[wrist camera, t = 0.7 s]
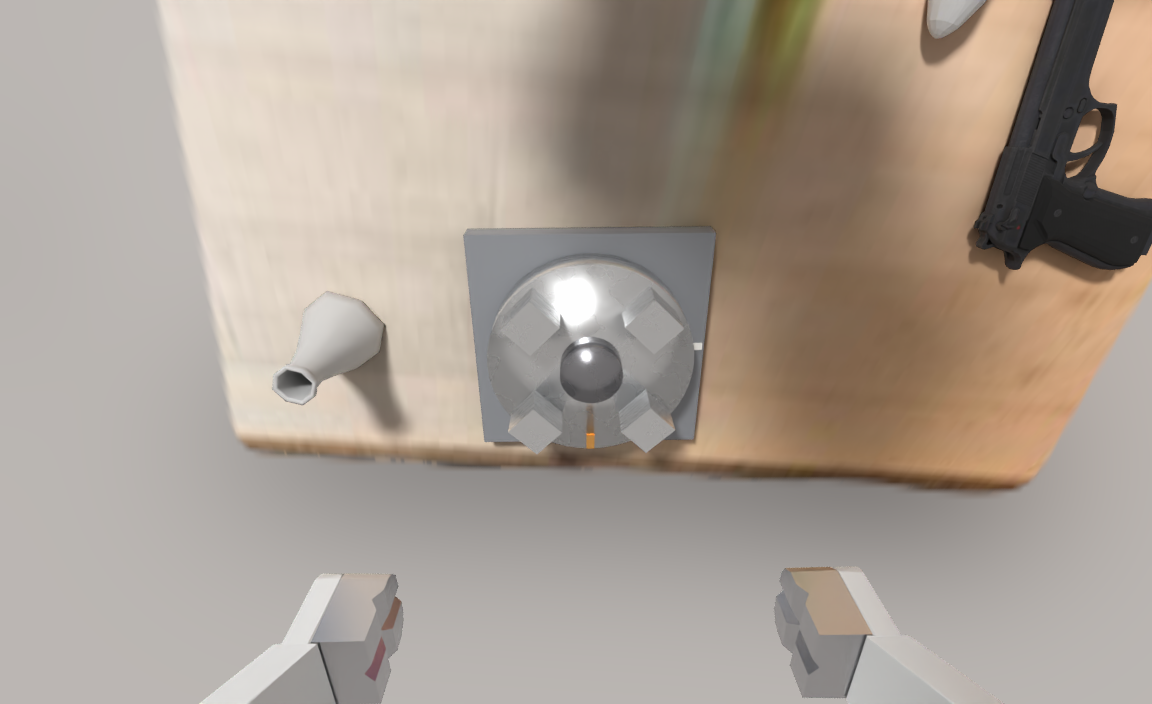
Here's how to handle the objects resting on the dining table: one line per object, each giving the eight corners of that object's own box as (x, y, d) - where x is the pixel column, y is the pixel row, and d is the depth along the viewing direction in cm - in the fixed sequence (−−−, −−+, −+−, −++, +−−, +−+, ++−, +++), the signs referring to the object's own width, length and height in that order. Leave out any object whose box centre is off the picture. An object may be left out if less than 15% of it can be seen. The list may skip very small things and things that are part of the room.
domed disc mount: (483, 254, 44) (471, 279, 39) (695, 252, 44) (713, 276, 39) (498, 430, 52) (490, 471, 46) (679, 427, 52) (692, 468, 46)
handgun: (1291, -45, 36) (1083, -50, 35) (1145, 274, 45) (977, 274, 44) (1234, -33, 39) (1041, -38, 38) (1108, 263, 48) (950, 263, 47)
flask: (289, 338, 50) (228, 396, 41) (322, 275, 47) (265, 323, 38) (363, 378, 52) (319, 442, 43) (398, 320, 49) (360, 376, 40)
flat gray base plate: (467, 228, 45) (462, 236, 43) (710, 226, 45) (716, 233, 43) (487, 429, 54) (484, 443, 52) (689, 427, 54) (694, 440, 52)
